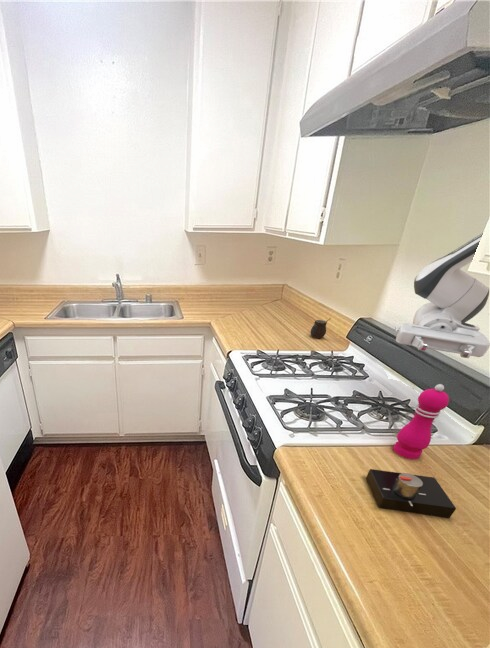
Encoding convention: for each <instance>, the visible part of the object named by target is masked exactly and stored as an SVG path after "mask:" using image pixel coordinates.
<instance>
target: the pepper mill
mask: <svg viewBox="0 0 490 648" xmlns="http://www.w3.org/2000/svg"><path fill="white" fill-rule="evenodd" d="M444 390H445V386H444V385H443V384H442V383H438V384H436V385H435V386H434V388H427V389H425V390H423V391H422V392H421V393H420V394H419V395H418V398H417V402H418V404H417V405H416V408H415V409H414V411H415V413H414V416H413V417H412V419H411V420H410V421H409V422H408V423H407V424H406V425H404V426H403V427H401V428H400V430H399V431H398V433H397V434H396V440H397V441H396V442H395V443H394V445H393V452H395V453H396V454H397V455H398V456H400V457H402V458H405V459H409V460H418V459H419V458H420V457H421V456H422V454H423V450H425V449H427V448H428V447H429V446H430V443H431V440H432V426H433V423H434V420H435V419H437V418H438V417H440V414H441V411H442V410H445V409H446V408H447V407H448V405H449V402H450V397H449V395H448V394H447V392H445V391H444Z"/></svg>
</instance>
